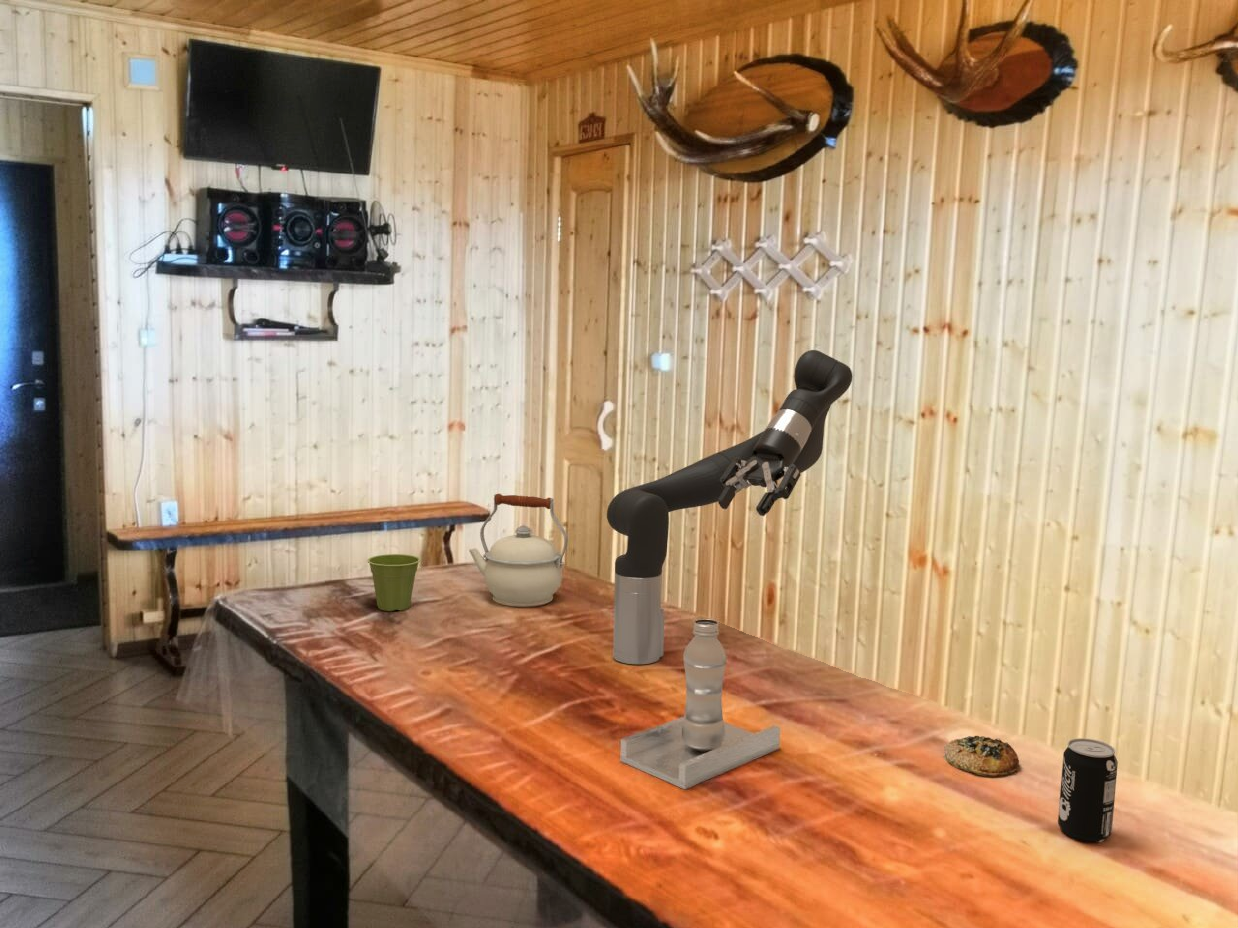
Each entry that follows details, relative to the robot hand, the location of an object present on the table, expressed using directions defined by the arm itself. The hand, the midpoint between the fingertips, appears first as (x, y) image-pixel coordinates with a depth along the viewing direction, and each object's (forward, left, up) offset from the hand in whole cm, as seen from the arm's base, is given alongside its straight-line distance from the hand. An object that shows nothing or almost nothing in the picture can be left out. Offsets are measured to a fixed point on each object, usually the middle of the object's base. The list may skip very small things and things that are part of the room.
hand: (740, 509), depth 188 cm
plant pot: (+15, -88, -34) cm, 95 cm away
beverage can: (+6, +65, -34) cm, 74 cm away
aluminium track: (+25, +14, -34) cm, 44 cm away
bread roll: (-5, +44, -34) cm, 56 cm away
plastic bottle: (+24, +14, -33) cm, 43 cm away
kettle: (-11, -76, -34) cm, 84 cm away
